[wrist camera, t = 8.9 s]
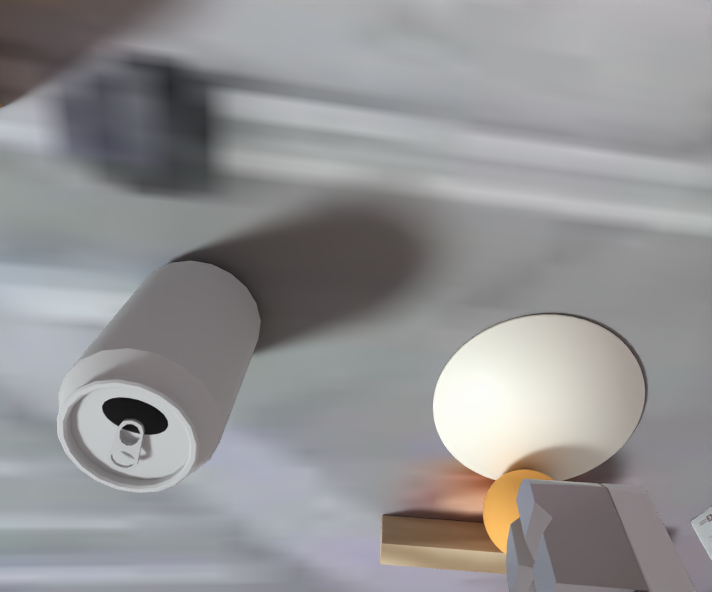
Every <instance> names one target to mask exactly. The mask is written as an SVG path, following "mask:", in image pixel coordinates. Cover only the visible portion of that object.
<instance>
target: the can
mask: <svg viewBox="0 0 712 592" xmlns="http://www.w3.org/2000/svg"><path fill="white" fill-rule="evenodd" d="M260 324H261V320H260V316H259V312H258V308H257V304H256V302H255V300H254V299H253V297H252V296H251V294H250V292H249V291H248V289H247V287H246V286H244V285H243V284H242V283H241V282H240V281H239V280H238V279H237V278H235V277H234V276H233V275H232V274H231V273H229V272H227V271H225V270H223V269H221V268H219V267H217V266H214V265H212V264H208V263H202V262H197V261H182V262H173V263H170V264H168V265H165V266H163V267H161V268H159V269H157V270H155V271H154V272H153V273H152V274H151V275H150V276H149V277H148V278H147V279H146V280H145V281H144V282H143V283H142V284H141V285H140V286H139V287H138V289H137V290H136V291H135V292H134V293H133V295H132V296H131V297H130V298H129V299H128V301H127V302H126V303H125V304H124V305H123V307H122V308H121V309H120V310H119V311H118V313H117V314H116V315H115V316H114V317H113V319H112V320H111V321H110V322H109V323H108V325H107V326H106V327H105V328H104V329H103V331H102V332H101V333H100V334H99V335H98V337H97V338H96V339H95V340H94V341H93V343H92V344H91V345H90V346H89V347H88V349H87V350H86V351H85V352H84V353H83V355H82V356H81V357H80V358H79V359H78V361H77V362H76V363H75V364H74V365H73V367H72V368H71V369H70V370H69V371H68V373H67V374H66V375H65V378H64V380H63V383H62V386H61V388H60V391H59V394H58V395H59V414H58V416H57V430H58V437H59V439H60V442H61V444H62V446H63V448H64V451H65V453H66V454H67V455H68V456H69V457H70V459H71V460H72V461H73V462H74V463H75V464H76V466H77V467H78V468H79V469H80V470H82V471H83V472H85V473H86V474H87V475H89V476H90V477H92V478H93V479H95V480H96V481H98V482H100V483H103V484H105V485H108V486H110V487H113V488H115V489H119V490H125V491H131V492H136V493H142V492H157V491H161V490H164V489H167V488H169V487H172V486H175V485H177V484H178V483H179V482H181V481H182V480H183V479H184V478H186V477H187V476H188V475H189V474H190V473H192V472H195V471H196V470H197V469H198V468H200V467H201V466H202V465H203V464H205V463H206V462H207V461H208V460H210V458H211V457H212V455H213V453H214V451H215V450H216V448H217V446H218V444H219V442H220V440H221V437H222V434H223V432H224V429H225V426H226V424H227V421H228V419H229V416H230V413H231V411H232V408H233V405H234V403H235V400H236V397H237V395H238V392H239V389H240V387H241V384H242V381H243V379H244V376H245V373H246V371H247V368H248V365H249V363H250V360H251V357H252V355H253V352H254V349H255V347H256V344H257V341H258V339H259V332H260Z"/></svg>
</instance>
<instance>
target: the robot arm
mask: <svg viewBox="0 0 712 592" xmlns="http://www.w3.org/2000/svg"><path fill="white" fill-rule="evenodd" d="M516 502H517V507H518V511H519V516H520V517H519V518H518V519H517V520H515V521H514V522H513V523H511V524H510V529H509V534H508V539H507V552H506V569H507V580H508V586H509V592H697V591H696V589H695V587H694V585H693V583H692V581H691V579H690V577H689V575H688V573H687V571H686V569H685V567H684V565H683V563H682V561H681V559H680V557H679V555H678V553H677V551H676V549H675V546H674V544H673V542H672V540H671V538H670V536H669V534H668V532H667V530H666V528H665V526H664V524H663V522H662V520H661V518H660V516H659V514H658V512H657V510H656V508H655V506H654V504H653V502H652V500H651V498H650V496H649V494H648V492H647V491H646V490H645V489H644V488H643V487H641V486H638V485H621V484H604V483H602V484H597V483H584V482H569V481H554V480H539V479H523V481H522V483H521V484H520V486H519V490H518V494H517V498H516Z"/></svg>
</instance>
